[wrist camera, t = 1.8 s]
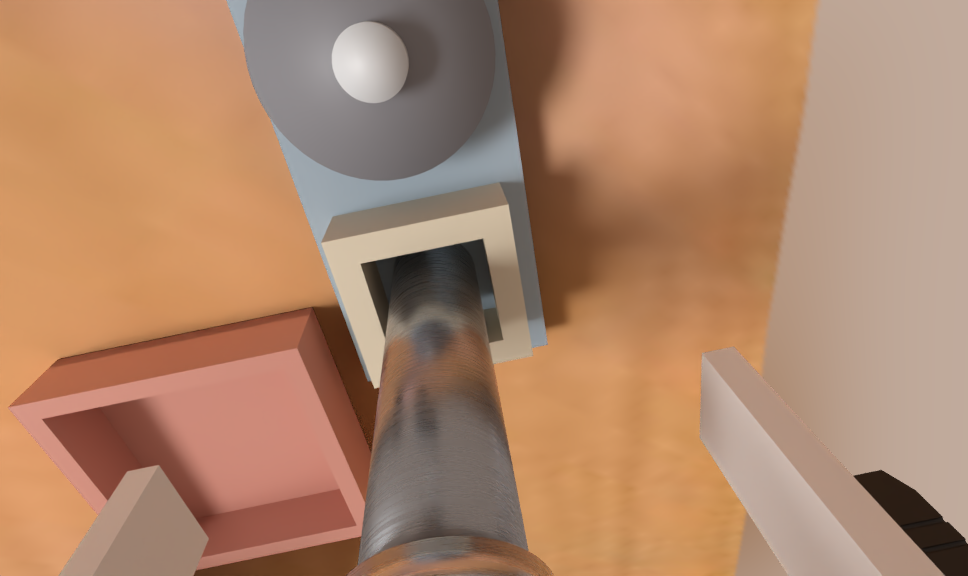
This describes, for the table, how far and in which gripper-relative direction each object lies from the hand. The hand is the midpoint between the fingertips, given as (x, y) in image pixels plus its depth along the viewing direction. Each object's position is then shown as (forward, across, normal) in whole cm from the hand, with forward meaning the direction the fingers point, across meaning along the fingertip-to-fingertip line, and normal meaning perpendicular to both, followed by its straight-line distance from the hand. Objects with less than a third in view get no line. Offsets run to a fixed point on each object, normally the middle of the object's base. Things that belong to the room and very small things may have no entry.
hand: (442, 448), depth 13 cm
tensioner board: (+10, 0, +4) cm, 11 cm away
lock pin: (+9, 0, 0) cm, 9 cm away
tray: (+10, -11, -6) cm, 16 cm away
